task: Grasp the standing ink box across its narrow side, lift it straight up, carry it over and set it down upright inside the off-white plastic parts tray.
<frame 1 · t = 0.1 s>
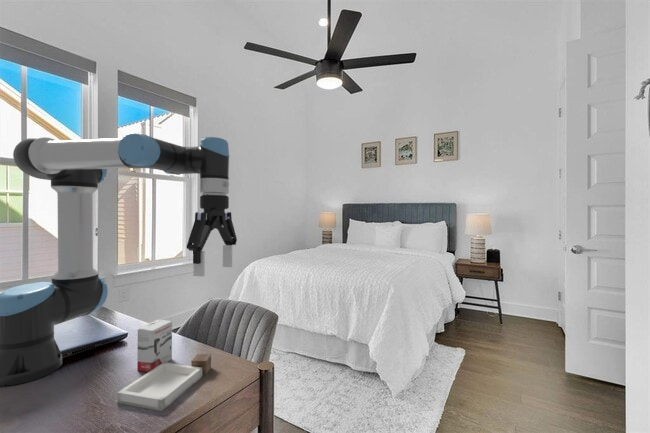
hand: (214, 271, 88), 28 cm above the table, fingers open, 13 cm apart
ink box: (155, 365, 91), on the table
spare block: (201, 371, 88), on the table
parts tray: (163, 388, 79), on the table
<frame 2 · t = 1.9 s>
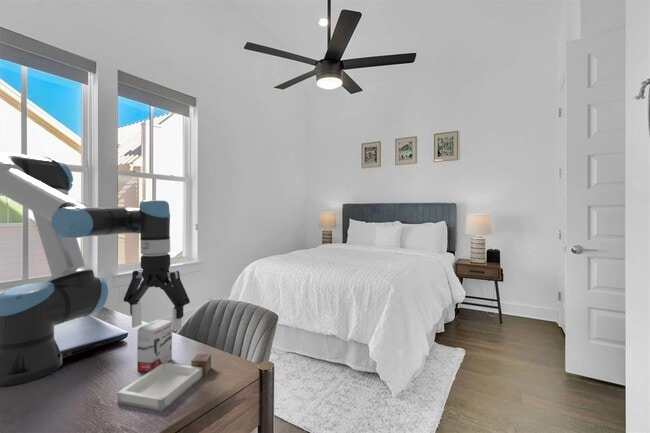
hand: (156, 327, 91), 11 cm above the table, fingers open, 13 cm apart
nothing on the table moved.
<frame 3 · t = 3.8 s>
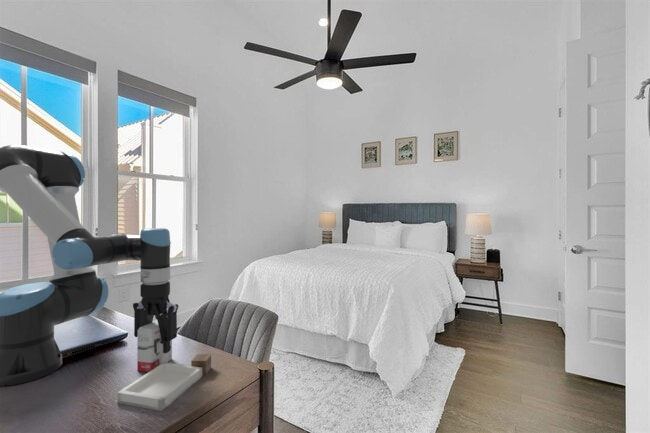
hand: (155, 362, 91), 1 cm above the table, fingers closed on ink box, 5 cm apart
ink box: (155, 365, 91), on the table, touching gripper
everything else where it was.
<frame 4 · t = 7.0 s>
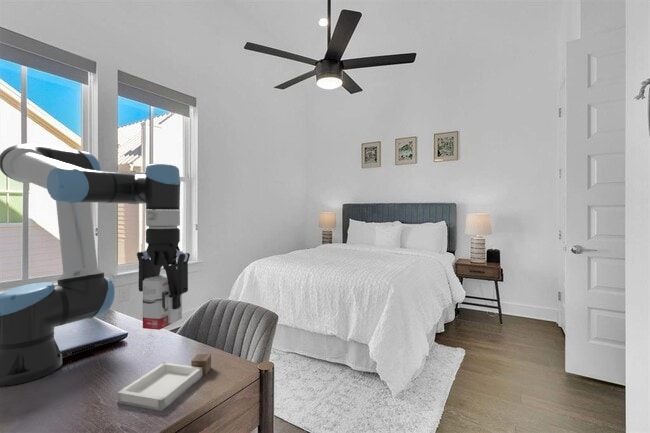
hand: (163, 320, 79), 17 cm above the table, fingers closed on ink box, 5 cm apart
ink box: (163, 324, 79), point 16 cm above the table, touching gripper
everything else where it was.
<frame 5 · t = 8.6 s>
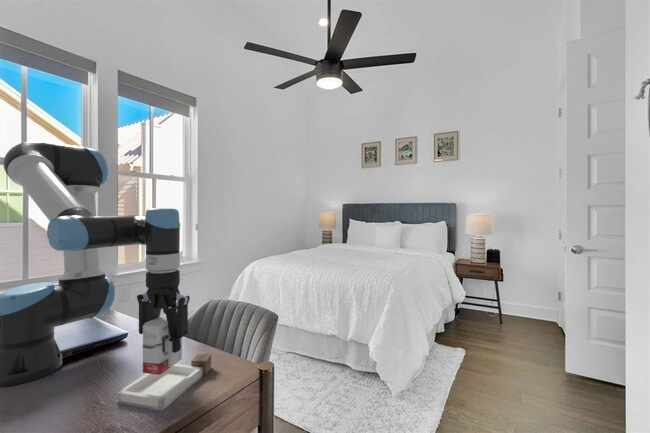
hand: (163, 362, 79), 7 cm above the table, fingers closed on ink box, 5 cm apart
ink box: (163, 366, 79), point 6 cm above the table, touching gripper
everything else where it was.
when the fingers open (3 cm above the table, at t = 10.1 s): ink box drops 1 cm, resting on parts tray.
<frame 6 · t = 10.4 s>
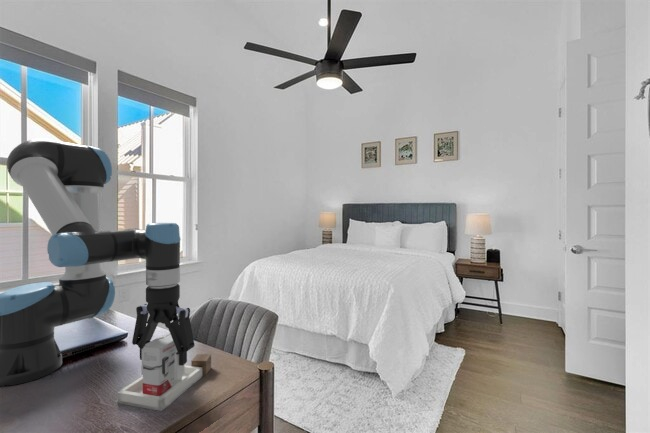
hand: (163, 374, 79), 4 cm above the table, fingers open, 9 cm apart
ink box: (163, 387, 79), resting on parts tray
everything else where it was.
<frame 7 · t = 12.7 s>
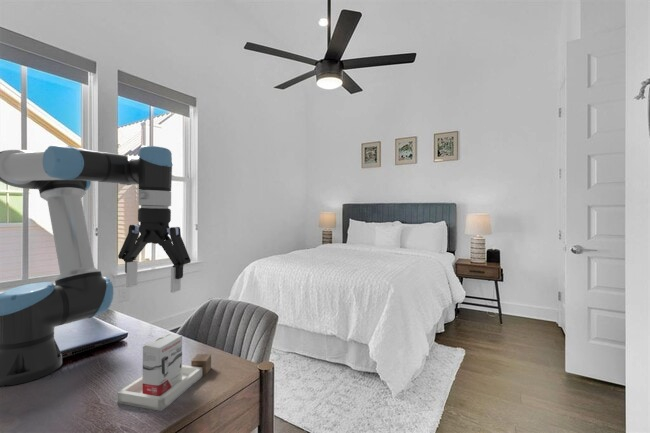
hand: (153, 288, 83), 24 cm above the table, fingers open, 13 cm apart
nothing on the table moved.
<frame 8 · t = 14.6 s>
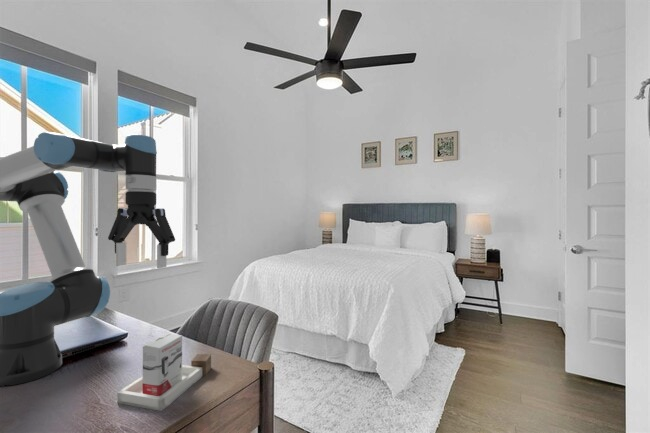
hand: (141, 266, 90), 29 cm above the table, fingers open, 13 cm apart
nothing on the table moved.
at the end: ink box inside the target area on the parts tray (0.1 cm from its centre), point 0.4 cm above the parts tray's base; ink box tilted 0°; the gripper is holding nothing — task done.
